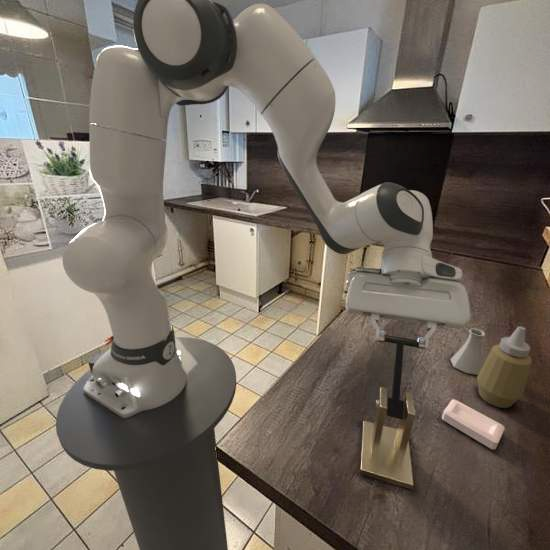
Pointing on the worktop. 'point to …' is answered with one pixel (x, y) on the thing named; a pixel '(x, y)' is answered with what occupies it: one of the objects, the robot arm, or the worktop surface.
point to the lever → (397, 376)
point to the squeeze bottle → (505, 371)
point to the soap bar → (473, 423)
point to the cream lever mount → (388, 445)
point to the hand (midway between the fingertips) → (400, 345)
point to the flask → (470, 353)
